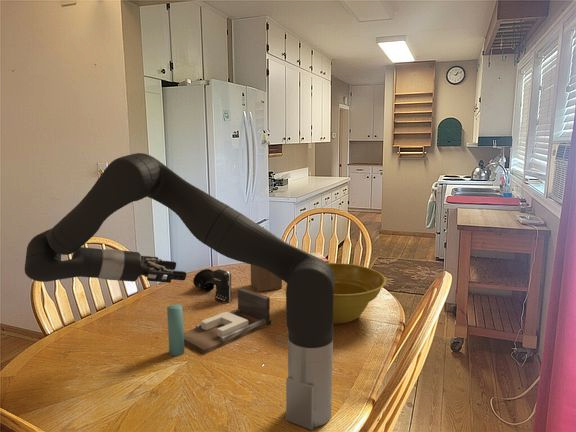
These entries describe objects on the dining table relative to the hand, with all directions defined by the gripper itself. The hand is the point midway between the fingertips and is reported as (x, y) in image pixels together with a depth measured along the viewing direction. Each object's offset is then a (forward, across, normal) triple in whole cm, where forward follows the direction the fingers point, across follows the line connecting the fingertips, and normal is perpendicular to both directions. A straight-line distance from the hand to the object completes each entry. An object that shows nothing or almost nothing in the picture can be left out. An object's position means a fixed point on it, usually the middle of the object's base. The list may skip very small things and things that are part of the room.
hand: (180, 270), depth 116 cm
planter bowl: (+54, -6, +9) cm, 55 cm away
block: (+49, +30, +12) cm, 59 cm away
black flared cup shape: (+30, +44, +19) cm, 56 cm away
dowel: (+3, -3, +22) cm, 22 cm away
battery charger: (+28, +25, +18) cm, 42 cm away
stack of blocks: (+67, +25, +8) cm, 72 cm away
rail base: (+20, +2, +18) cm, 27 cm away
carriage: (+19, +2, +17) cm, 25 cm away
